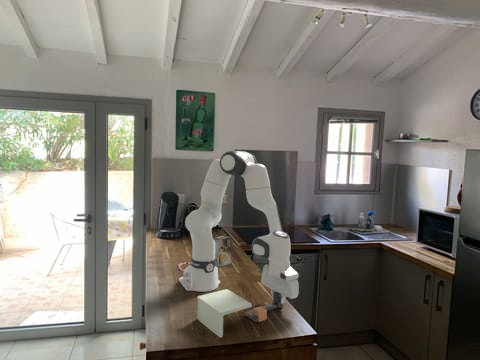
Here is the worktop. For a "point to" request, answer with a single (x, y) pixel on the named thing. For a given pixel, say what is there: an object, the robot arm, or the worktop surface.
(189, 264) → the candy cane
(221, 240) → the coffee box
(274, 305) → the hook tool
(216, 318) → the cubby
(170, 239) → the worktop surface
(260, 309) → the cube
